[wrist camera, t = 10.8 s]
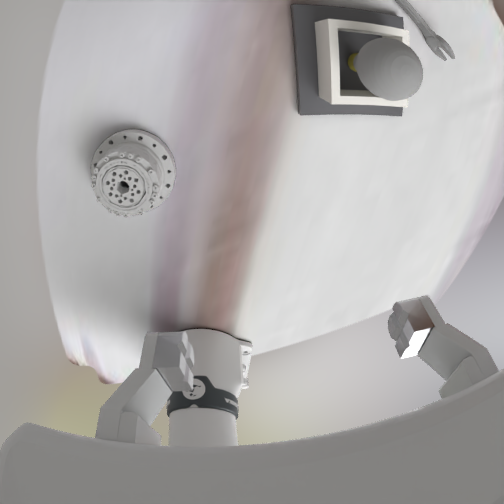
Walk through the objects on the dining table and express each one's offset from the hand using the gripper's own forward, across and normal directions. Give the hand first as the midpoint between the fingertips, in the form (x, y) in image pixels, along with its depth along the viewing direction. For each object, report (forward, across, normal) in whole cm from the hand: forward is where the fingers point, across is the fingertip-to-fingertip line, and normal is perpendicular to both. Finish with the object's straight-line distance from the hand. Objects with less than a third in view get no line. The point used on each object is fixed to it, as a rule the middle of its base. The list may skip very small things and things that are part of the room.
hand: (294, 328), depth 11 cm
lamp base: (+24, -11, -9) cm, 28 cm away
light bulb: (+23, -11, -9) cm, 27 cm away
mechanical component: (+24, +13, +1) cm, 28 cm away
